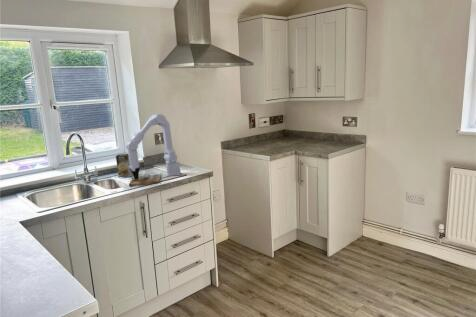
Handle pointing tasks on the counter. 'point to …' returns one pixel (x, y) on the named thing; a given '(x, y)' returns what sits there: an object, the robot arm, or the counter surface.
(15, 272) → the counter surface
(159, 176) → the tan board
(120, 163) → the coffee box
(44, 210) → the counter surface
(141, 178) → the lock bar
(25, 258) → the counter surface
